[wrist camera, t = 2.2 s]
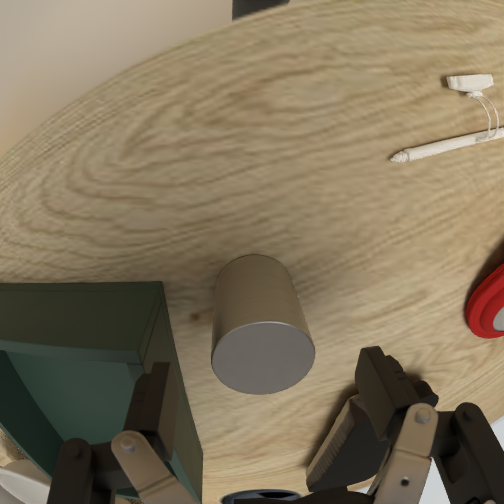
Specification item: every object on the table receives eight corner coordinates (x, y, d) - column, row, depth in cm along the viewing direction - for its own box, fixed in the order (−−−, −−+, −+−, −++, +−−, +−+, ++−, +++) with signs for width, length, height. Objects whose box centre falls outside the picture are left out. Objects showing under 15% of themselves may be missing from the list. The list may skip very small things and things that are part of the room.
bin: (-22, 283, 17) (-65, 327, 11) (162, 280, 17) (138, 351, 12) (64, 438, 25) (51, 480, 19) (203, 453, 26) (202, 505, 20)
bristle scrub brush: (348, 376, 22) (362, 412, 19) (431, 369, 23) (449, 398, 19) (298, 469, 28) (303, 496, 25) (364, 461, 29) (372, 485, 26)
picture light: (388, 165, 15) (408, 172, 14) (370, 87, 14) (388, 85, 12) (531, 129, 14) (550, 134, 13) (522, 73, 13) (542, 74, 11)
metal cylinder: (212, 256, 17) (205, 324, 12) (293, 252, 17) (320, 316, 12) (218, 321, 19) (216, 397, 13) (290, 317, 19) (310, 390, 14)
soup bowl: (-24, 408, 24) (-42, 443, 18) (142, 456, 26) (135, 509, 20) (43, 486, 33) (35, 513, 27) (170, 516, 36) (168, 548, 30)
